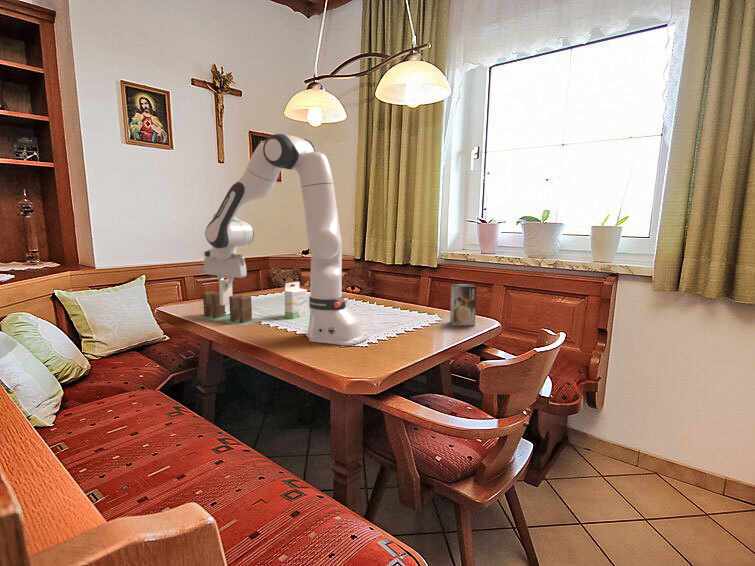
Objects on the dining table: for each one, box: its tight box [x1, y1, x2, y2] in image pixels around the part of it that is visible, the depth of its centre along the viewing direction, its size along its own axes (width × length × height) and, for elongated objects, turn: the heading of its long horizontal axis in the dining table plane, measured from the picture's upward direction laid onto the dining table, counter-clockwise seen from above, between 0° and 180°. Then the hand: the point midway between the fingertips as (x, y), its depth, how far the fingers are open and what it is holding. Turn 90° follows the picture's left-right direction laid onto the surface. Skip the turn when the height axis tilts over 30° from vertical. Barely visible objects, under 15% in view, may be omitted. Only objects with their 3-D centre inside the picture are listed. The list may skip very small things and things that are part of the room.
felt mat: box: [197, 313, 262, 327], centre depth 164 cm, size 27×10×1 cm, turn 63°
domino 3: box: [229, 294, 243, 321], centre depth 161 cm, size 2×5×10 cm, turn 153°
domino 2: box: [211, 292, 226, 318], centre depth 166 cm, size 2×5×10 cm, turn 153°
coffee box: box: [449, 283, 478, 326], centre depth 162 cm, size 9×6×16 cm
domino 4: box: [239, 295, 253, 323], centre depth 159 cm, size 2×5×10 cm, turn 153°
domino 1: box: [202, 290, 217, 317], centre depth 168 cm, size 2×5×10 cm, turn 153°
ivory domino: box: [218, 279, 234, 306], centre depth 162 cm, size 2×5×10 cm, turn 153°
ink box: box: [284, 281, 308, 320], centre depth 169 cm, size 9×5×15 cm, turn 143°
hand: (225, 287), depth 162 cm, fingers closed on ivory domino, 2 cm apart
